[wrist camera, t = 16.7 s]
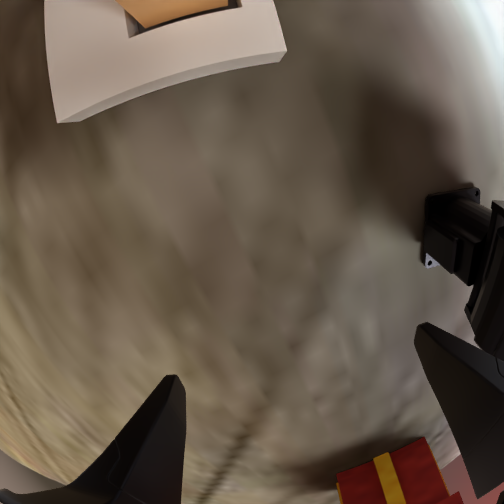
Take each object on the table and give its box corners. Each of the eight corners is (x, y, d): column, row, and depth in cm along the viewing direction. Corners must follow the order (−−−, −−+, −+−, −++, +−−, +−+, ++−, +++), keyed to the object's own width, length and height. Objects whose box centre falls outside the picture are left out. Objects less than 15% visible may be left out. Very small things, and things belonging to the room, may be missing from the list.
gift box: (317, 474, 41) (333, 562, 22) (439, 423, 37) (475, 503, 19) (340, 494, 51) (353, 555, 32) (430, 457, 47) (452, 515, 29)
